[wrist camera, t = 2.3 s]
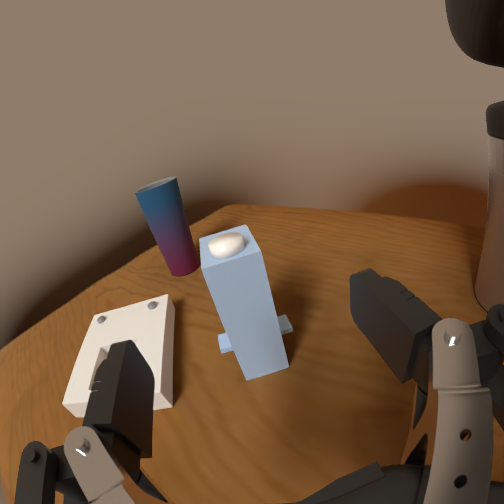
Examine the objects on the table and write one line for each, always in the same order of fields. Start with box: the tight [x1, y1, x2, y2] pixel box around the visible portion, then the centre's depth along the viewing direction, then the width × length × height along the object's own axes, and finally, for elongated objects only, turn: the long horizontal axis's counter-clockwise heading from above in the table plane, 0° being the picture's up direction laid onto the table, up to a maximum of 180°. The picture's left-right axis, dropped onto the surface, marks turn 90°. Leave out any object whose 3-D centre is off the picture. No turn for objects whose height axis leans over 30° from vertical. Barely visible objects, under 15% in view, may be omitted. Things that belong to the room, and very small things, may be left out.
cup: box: [135, 177, 199, 276], centre depth 42 cm, size 7×7×15 cm
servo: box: [199, 224, 293, 380], centre depth 23 cm, size 6×7×13 cm
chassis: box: [62, 294, 175, 417], centre depth 27 cm, size 16×12×3 cm
